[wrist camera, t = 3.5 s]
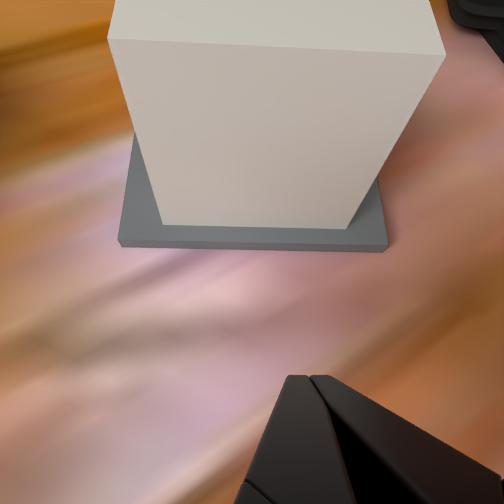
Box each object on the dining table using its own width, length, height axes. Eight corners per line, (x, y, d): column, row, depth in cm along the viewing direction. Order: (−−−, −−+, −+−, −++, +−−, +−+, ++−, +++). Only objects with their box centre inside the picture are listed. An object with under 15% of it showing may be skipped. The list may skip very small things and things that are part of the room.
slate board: (382, 252, 24) (388, 245, 23) (121, 247, 23) (117, 239, 23) (349, 54, 32) (353, 42, 31) (152, 44, 31) (150, 32, 30)
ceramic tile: (345, 229, 24) (446, 55, 13) (163, 224, 23) (107, 38, 12) (340, 187, 25) (428, -3, 14) (167, 182, 24) (120, -21, 14)
